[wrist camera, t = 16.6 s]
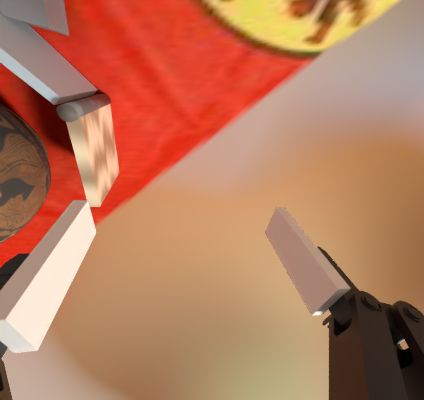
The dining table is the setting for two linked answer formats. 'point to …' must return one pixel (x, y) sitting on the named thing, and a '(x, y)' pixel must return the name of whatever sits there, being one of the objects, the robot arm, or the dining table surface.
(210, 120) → the dining table surface
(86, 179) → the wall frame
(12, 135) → the vase
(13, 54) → the door
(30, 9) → the grey short block
